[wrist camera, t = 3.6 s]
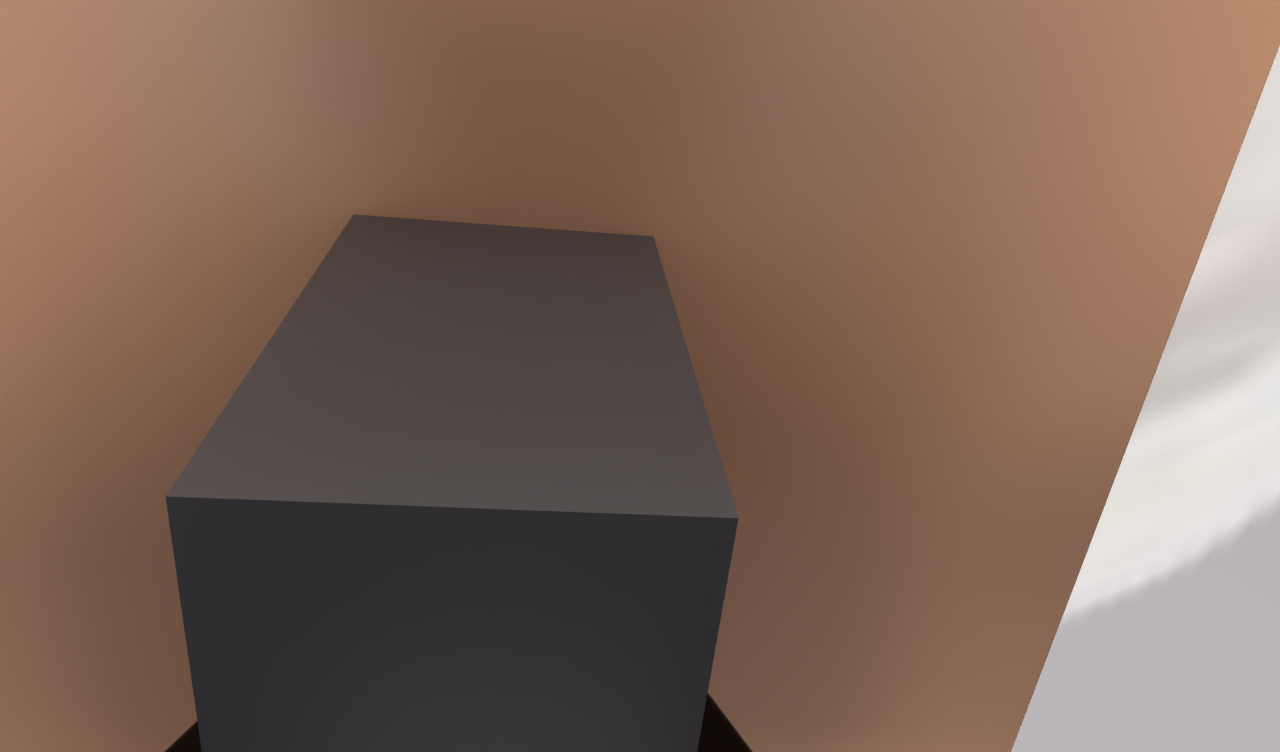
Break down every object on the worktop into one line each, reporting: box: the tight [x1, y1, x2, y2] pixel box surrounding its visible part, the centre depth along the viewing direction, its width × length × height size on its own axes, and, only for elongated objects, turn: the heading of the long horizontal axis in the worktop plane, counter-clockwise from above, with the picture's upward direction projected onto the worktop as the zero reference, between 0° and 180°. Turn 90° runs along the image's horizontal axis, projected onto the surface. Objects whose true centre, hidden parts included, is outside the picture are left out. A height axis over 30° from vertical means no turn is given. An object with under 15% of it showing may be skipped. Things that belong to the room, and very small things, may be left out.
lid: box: [0, 0, 1280, 752], centre depth 8 cm, size 14×12×6 cm
